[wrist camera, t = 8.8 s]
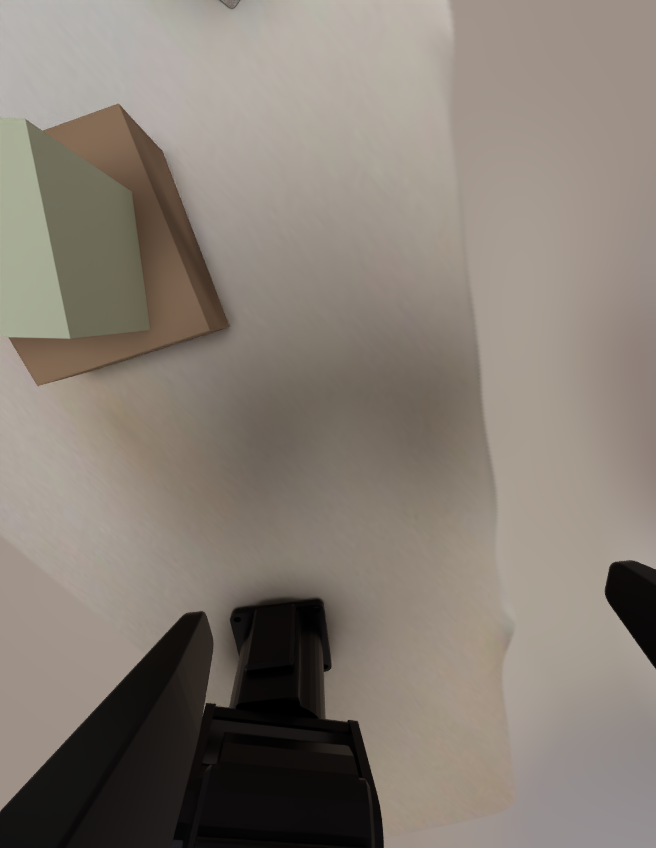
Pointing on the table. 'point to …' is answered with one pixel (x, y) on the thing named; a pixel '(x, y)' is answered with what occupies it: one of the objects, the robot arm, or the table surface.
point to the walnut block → (159, 250)
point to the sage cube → (64, 243)
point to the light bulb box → (230, 3)
